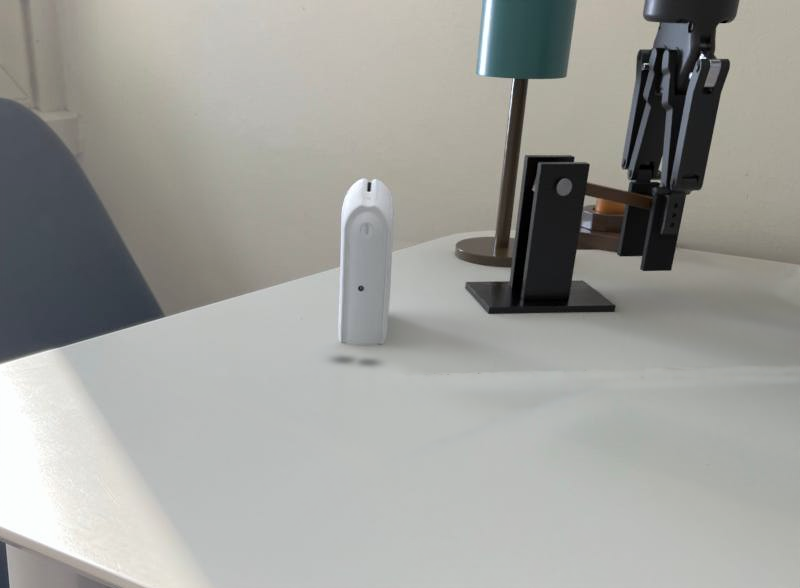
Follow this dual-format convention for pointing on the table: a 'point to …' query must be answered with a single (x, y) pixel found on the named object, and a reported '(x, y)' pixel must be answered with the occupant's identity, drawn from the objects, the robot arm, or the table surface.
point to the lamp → (517, 93)
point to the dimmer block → (599, 230)
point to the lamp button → (609, 206)
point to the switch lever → (617, 195)
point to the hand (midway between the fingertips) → (643, 261)
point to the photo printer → (365, 263)
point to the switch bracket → (545, 245)
